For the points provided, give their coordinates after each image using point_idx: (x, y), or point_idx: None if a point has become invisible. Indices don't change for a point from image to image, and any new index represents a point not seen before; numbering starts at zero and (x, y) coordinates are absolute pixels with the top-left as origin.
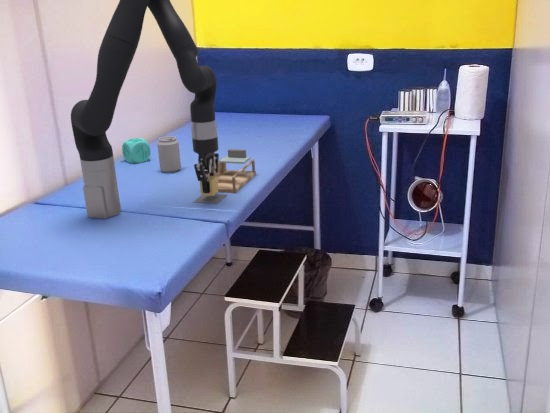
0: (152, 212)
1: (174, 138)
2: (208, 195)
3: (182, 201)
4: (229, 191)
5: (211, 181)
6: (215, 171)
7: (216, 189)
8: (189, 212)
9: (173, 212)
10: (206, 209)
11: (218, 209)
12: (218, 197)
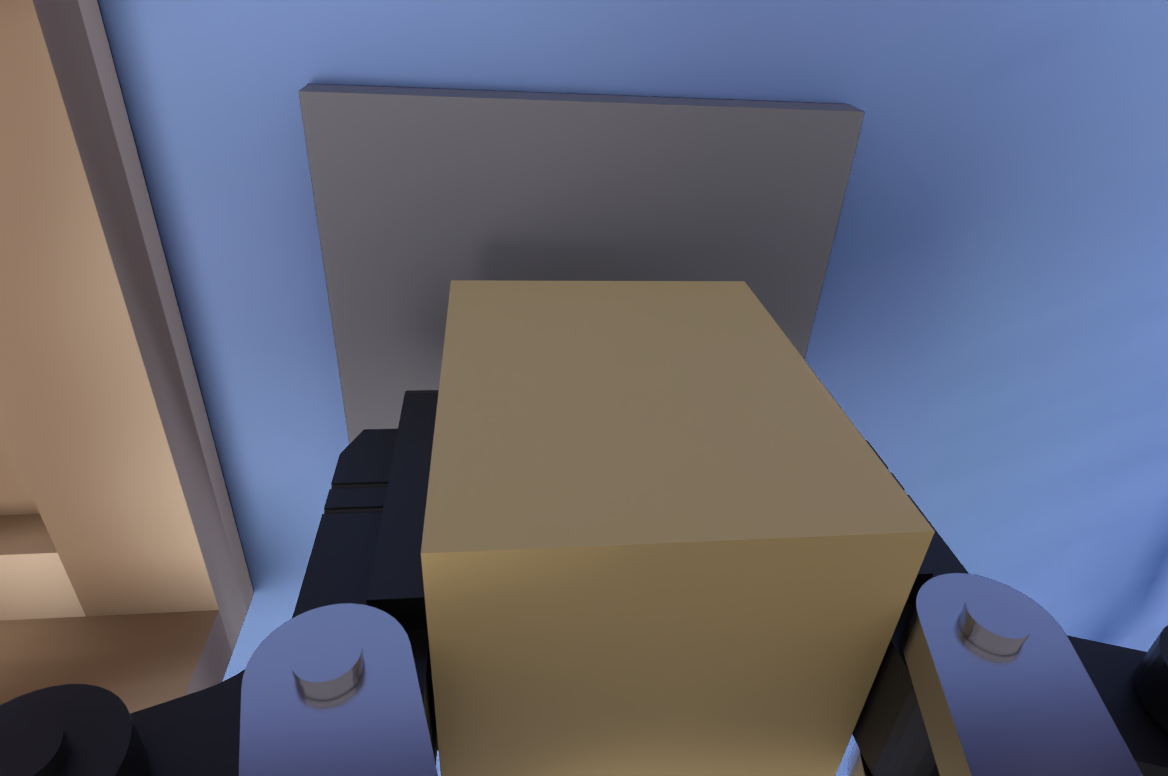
0: None
1: None
2: None
3: None
4: (94, 96)
5: (895, 511)
6: (255, 773)
7: (558, 314)
8: (1088, 419)
9: (1038, 578)
10: (1019, 233)
11: (1069, 3)
12: (512, 221)
